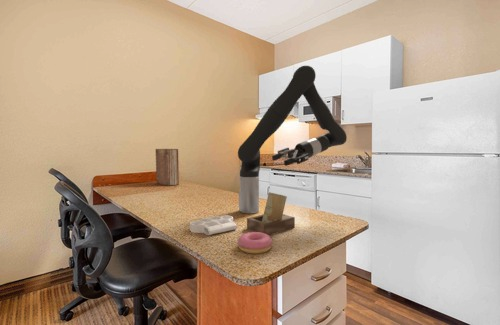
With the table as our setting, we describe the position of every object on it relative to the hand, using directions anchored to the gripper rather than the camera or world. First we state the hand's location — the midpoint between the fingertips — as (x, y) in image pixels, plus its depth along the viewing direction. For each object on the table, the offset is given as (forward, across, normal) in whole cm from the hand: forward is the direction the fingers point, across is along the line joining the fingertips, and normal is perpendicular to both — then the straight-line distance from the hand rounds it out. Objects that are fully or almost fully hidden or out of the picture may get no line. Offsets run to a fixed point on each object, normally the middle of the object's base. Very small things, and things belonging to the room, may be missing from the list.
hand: (278, 160), depth 107 cm
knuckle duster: (+34, 0, +17) cm, 38 cm away
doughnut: (+29, +24, +14) cm, 40 cm away
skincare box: (+15, +12, +19) cm, 27 cm away
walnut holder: (+15, +11, +20) cm, 27 cm away
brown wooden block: (+32, -130, +45) cm, 141 cm away
